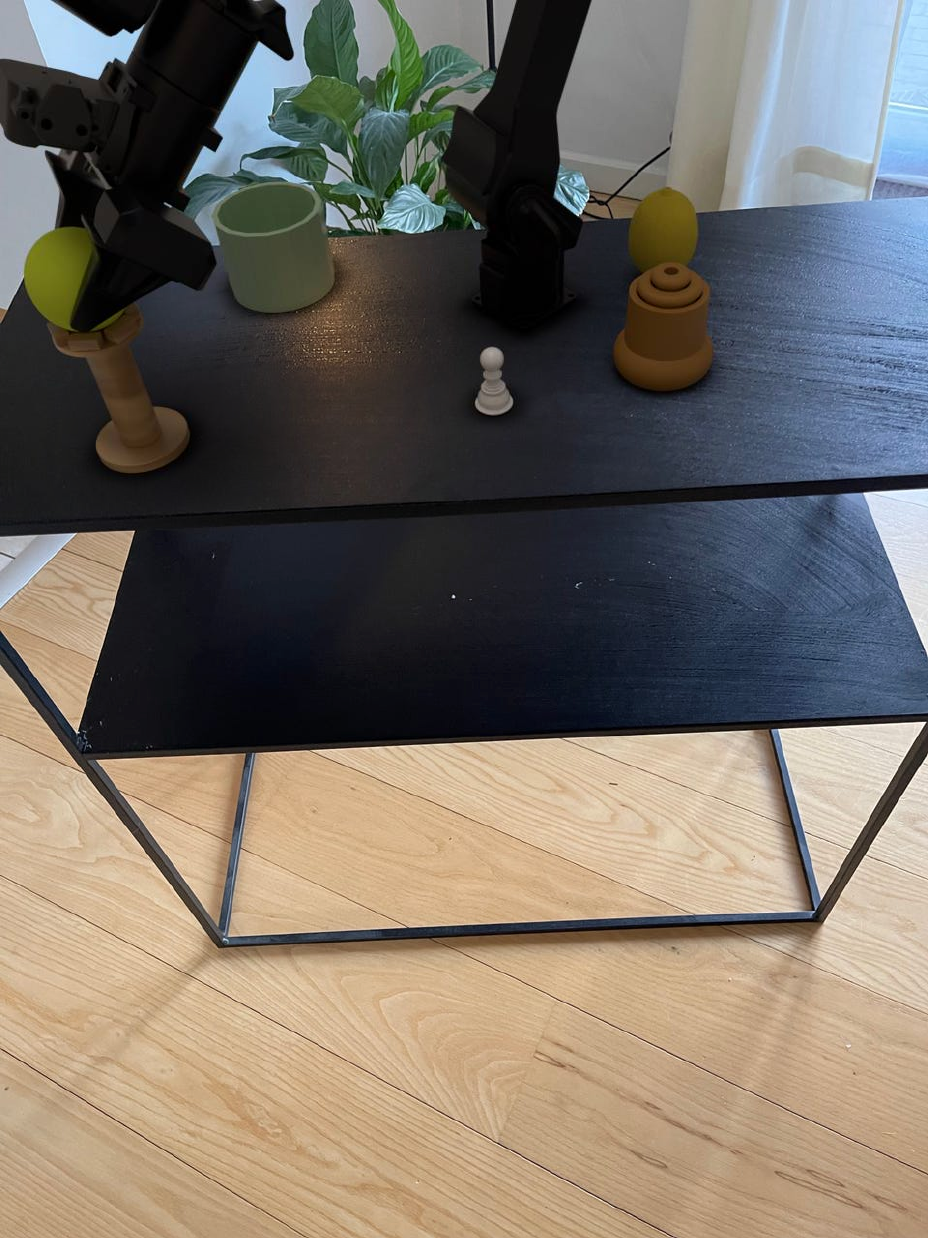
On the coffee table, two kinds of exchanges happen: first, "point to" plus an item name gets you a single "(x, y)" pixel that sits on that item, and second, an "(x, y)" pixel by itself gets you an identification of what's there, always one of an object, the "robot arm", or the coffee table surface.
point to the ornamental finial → (665, 330)
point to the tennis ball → (59, 274)
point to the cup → (275, 246)
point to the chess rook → (125, 397)
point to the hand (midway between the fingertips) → (65, 305)
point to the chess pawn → (493, 384)
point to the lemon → (663, 230)
